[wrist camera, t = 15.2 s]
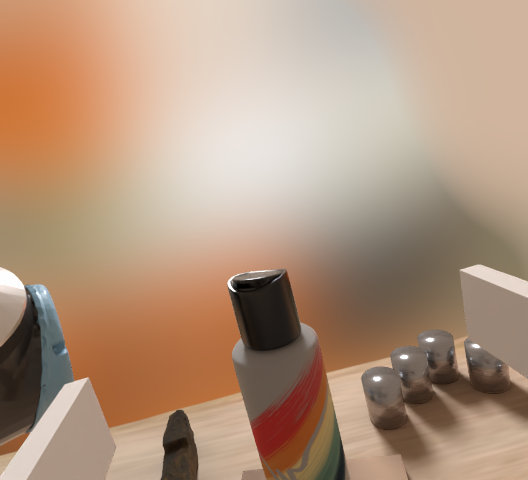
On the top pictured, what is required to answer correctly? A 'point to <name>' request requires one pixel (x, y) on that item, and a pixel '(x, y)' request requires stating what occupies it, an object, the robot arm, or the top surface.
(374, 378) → the steel spacers
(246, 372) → the lotion bottle
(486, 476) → the top surface
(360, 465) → the brown wooden flat board
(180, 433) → the hand tool
